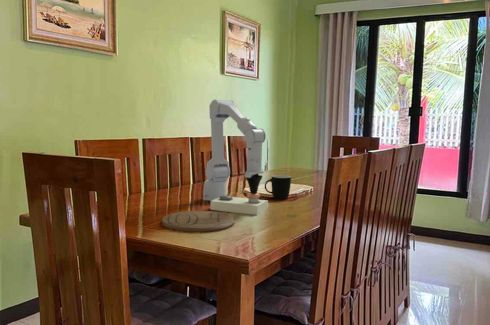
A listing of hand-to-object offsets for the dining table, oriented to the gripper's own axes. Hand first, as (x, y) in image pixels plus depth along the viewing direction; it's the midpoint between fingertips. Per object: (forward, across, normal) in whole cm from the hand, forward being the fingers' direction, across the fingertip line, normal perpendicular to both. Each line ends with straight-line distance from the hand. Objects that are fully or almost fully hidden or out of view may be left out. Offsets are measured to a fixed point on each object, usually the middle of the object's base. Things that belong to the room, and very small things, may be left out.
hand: (253, 193), depth 175 cm
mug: (+7, +31, 0) cm, 32 cm away
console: (+7, 0, +6) cm, 9 cm away
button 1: (+6, 0, +12) cm, 13 cm away
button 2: (+4, 0, 0) cm, 4 cm away
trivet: (+8, -27, +10) cm, 30 cm away
